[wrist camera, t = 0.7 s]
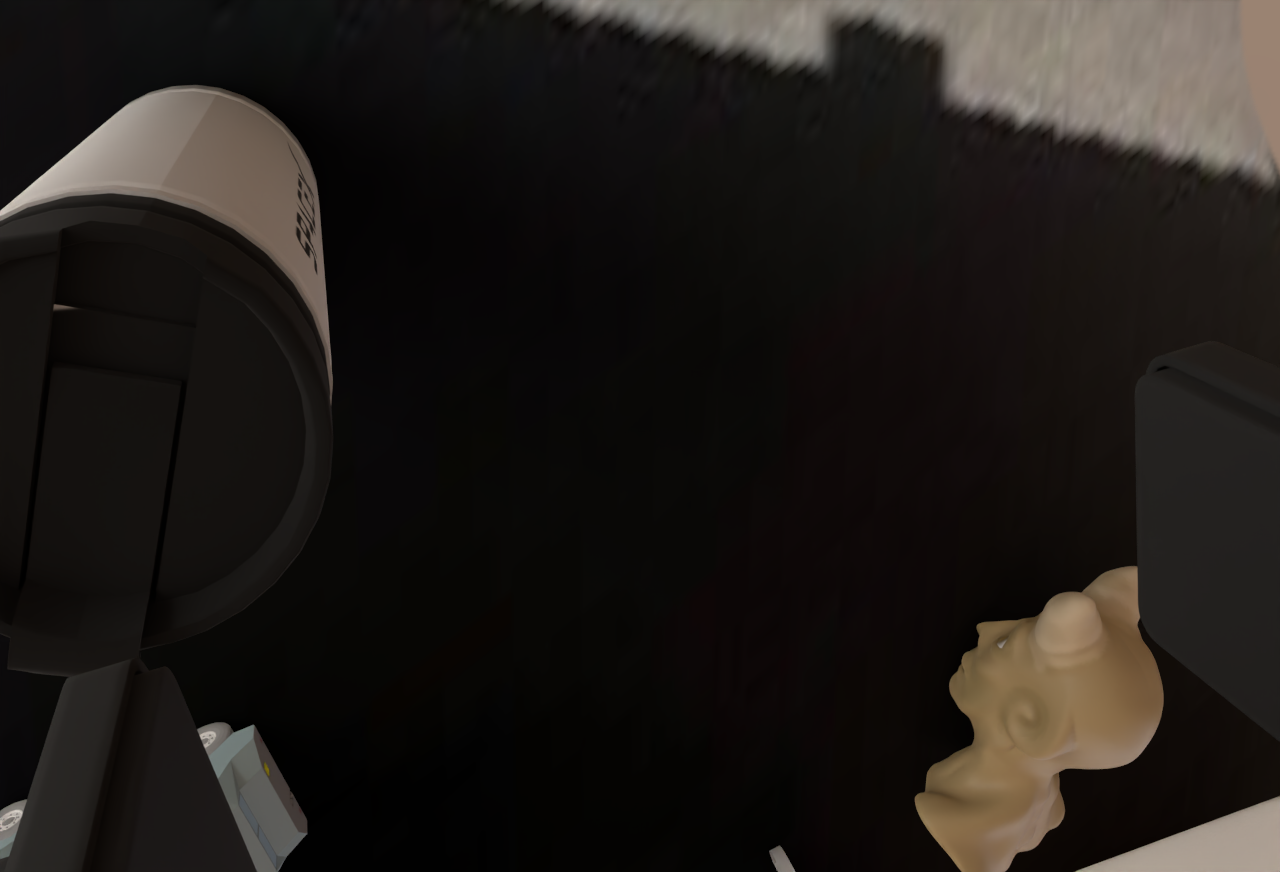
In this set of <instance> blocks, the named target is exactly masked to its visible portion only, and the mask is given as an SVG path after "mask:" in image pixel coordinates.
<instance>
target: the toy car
mask: <svg viewBox="0 0 1280 872" xmlns="http://www.w3.org/2000/svg"><path fill="white" fill-rule="evenodd" d="M197 731H198V733H199V735H200V738H201V740H202V743H203V745H204V747H205V750H206V752H207V754H208V757H209V759H210V761H211V764H212V766H213V769H214V771H215V773H216V776H217V778H218V780H219V783H220V785H221V787H222V790H223V792H224V795H225V797H226V799H227V802H228V804H229V806H230V809H231V811H232V813H233V816H234V818H235V821H236V823H237V825H238V828H239V830H240V832H241V835H242V837H243V839H244V842H245V844H246V847H247V849H248V851H249V854H250V856H251V858H252V861H253V863H254V865H255V868H256V870H257V872H278V871H279V869H280V868H281V866H282V864H283V862H284V860H285V859H286V857H287V856H288V854H289V853H290V852H291V851H292V850H293V849H294V848H295V847H296V846H297V844H298V843H299V842H300V841H301V840H302V839H303V838H304V837H305V835H306V834H307V819H306V817H305V815H304V814H303V812H302V810H301V808H300V806H299V805H298V803H297V801H296V799H295V797H294V796H293V794H292V792H290V788H289V787H288V785H287V783H286V781H285V779H284V778H283V776H282V774H281V772H280V770H279V769H278V767H277V765H276V763H275V761H274V760H273V758H272V756H271V754H270V752H269V751H268V749H267V747H266V745H265V743H264V742H263V740H262V738H261V736H260V734H259V733H258V731H257V729H256V727H255V725H252V726H249V727H247V728H244V729H242V730H239V731H237V732H235V733H234V732H233V730H232V729H231V727H230V725H228V724H226V723H224V722H215V723H212V724H209V725H205V726H203V727H201V728H199V729H197ZM26 801H27V800H23V801H19V802H16V803H13V804H11V805H9V806H7V807H5V808H3V809H2V810H1V811H0V859H2V858H5V857H8V856H9V855H10V852H11V848H12V845H13V842H14V839H15V836H16V833H17V830H18V826H19V823H20V820H21V817H22V814H23V811H24V808H25V805H26Z"/></svg>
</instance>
